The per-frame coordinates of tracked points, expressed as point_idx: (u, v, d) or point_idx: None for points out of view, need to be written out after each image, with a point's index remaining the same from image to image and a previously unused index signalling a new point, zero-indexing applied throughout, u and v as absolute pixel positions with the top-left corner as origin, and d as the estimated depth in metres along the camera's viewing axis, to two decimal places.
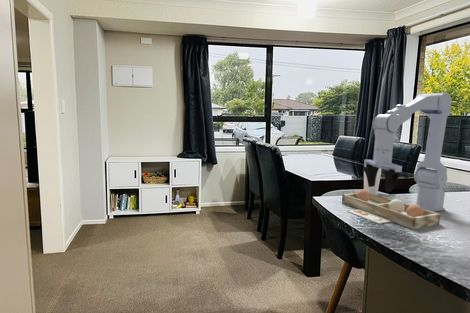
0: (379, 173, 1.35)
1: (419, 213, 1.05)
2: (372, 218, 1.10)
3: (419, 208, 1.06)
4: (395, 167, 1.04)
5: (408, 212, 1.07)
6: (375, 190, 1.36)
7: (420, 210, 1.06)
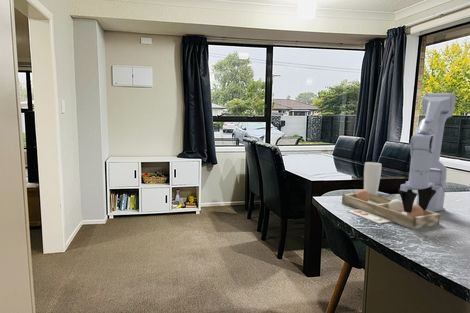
0: (379, 173, 1.35)
1: (419, 213, 1.05)
2: (372, 218, 1.10)
3: (419, 208, 1.06)
4: None
5: None
6: (375, 190, 1.36)
7: (420, 210, 1.06)
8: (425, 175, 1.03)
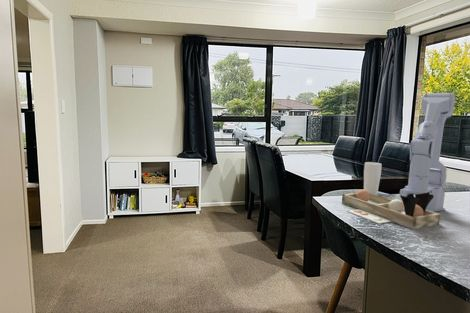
0: (379, 173, 1.35)
1: (419, 213, 1.05)
2: (372, 218, 1.10)
3: (419, 208, 1.06)
4: None
5: None
6: (375, 190, 1.36)
7: (420, 210, 1.06)
8: (424, 180, 1.04)
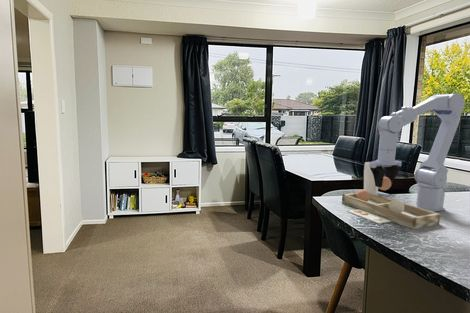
0: None
1: (387, 184, 1.16)
2: (372, 218, 1.10)
3: (387, 179, 1.17)
4: None
5: None
6: (375, 190, 1.36)
7: (388, 181, 1.16)
8: (391, 153, 1.14)
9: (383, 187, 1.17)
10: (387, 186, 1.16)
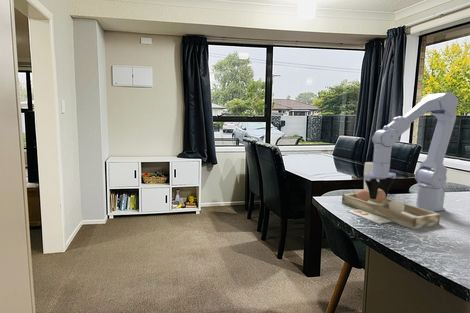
0: None
1: (381, 196, 1.19)
2: (372, 218, 1.10)
3: (381, 191, 1.19)
4: None
5: None
6: None
7: (382, 193, 1.19)
8: (385, 166, 1.17)
9: (377, 199, 1.19)
10: (381, 198, 1.19)
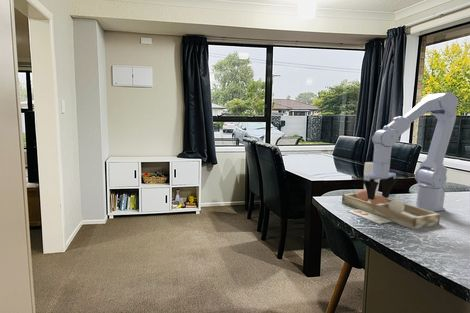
0: None
1: (380, 201, 1.19)
2: (372, 218, 1.10)
3: (381, 197, 1.19)
4: None
5: (372, 200, 1.21)
6: None
7: (382, 198, 1.19)
8: (385, 166, 1.17)
9: None
10: (381, 203, 1.19)
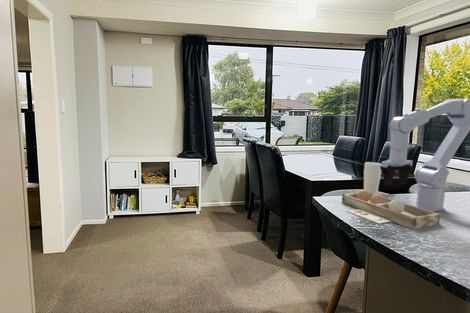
0: (379, 173, 1.35)
1: (380, 201, 1.19)
2: (372, 218, 1.10)
3: (381, 197, 1.19)
4: None
5: (372, 200, 1.21)
6: (375, 190, 1.36)
7: (382, 198, 1.19)
8: (403, 153, 1.17)
9: None
10: (381, 203, 1.19)
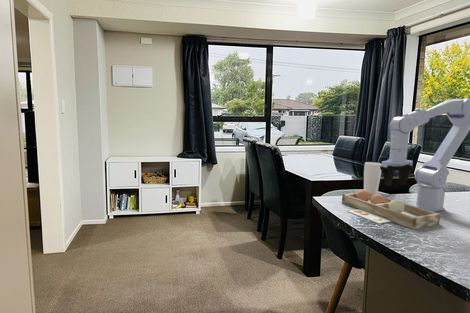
0: (379, 173, 1.35)
1: (380, 201, 1.19)
2: (372, 218, 1.10)
3: (381, 197, 1.19)
4: None
5: (371, 200, 1.21)
6: (375, 190, 1.36)
7: (382, 198, 1.19)
8: (403, 153, 1.17)
9: None
10: (381, 203, 1.19)
